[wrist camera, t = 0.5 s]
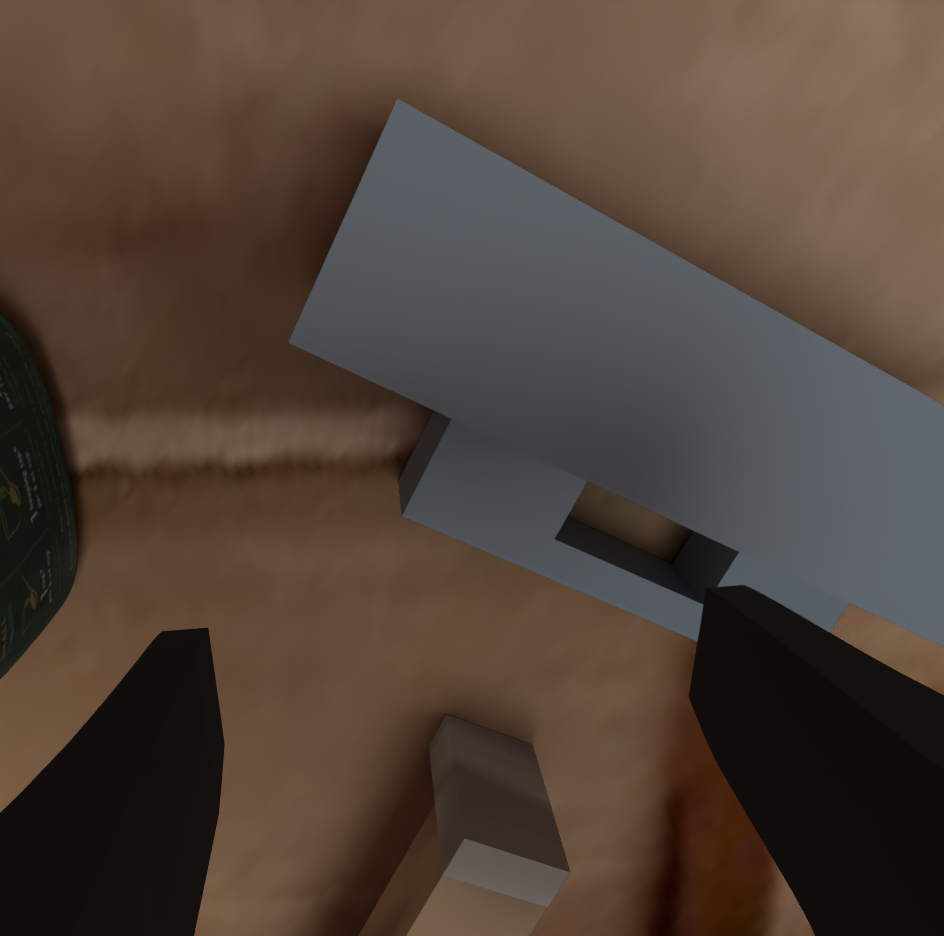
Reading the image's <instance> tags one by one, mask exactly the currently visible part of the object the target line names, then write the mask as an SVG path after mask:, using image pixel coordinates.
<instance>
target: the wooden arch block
mask: <svg viewBox="0 0 944 936" xmlns="http://www.w3.org/2000/svg"><path fill="white" fill-rule="evenodd" d="M429 753H430V762H431V772H432V781H433V790H434V799H435V804H434V806H433V808H432V809H431V811H430V813H429V815H428V816H427V818H426V820H425V821H424V823H423V825H422V827H421V828H420V830H419V832H418V834H417V835H416V837H415V839H414V840H413V842H412V844H411V846H410V847H409V849H408V851H407V852H406V854H405V856H404V858H403V859H402V861H401V863H400V865H399V866H398V868H397V870H396V871H395V873H394V875H393V877H392V878H391V880H390V882H389V883H388V885H387V887H386V889H385V890H384V892H383V894H382V896H381V897H380V899H379V901H378V902H377V904H376V906H375V908H374V909H373V911H372V913H371V914H370V916H369V918H368V920H367V921H366V923H365V925H364V927H363V928H362V930H361V932H360V933H359V935H358V936H529V935H530V934H531V932H532V931H533V929H534V928H535V926H536V925H537V923H538V922H539V920H540V919H541V917H542V915H543V914H544V912H545V911H546V909H547V908H548V906H549V905H550V903H551V902H552V900H553V899H554V897H555V895H556V894H557V892H558V891H559V889H560V888H561V886H562V885H563V883H564V882H565V880H566V878H567V877H568V875H569V874H570V870H569V866H568V863H567V859H566V856H565V853H564V849H563V846H562V842H561V839H560V836H559V832H558V829H557V825H556V822H555V819H554V815H553V812H552V808H551V805H550V802H549V798H548V795H547V791H546V788H545V785H544V781H543V778H542V774H541V771H540V768H539V764H538V761H537V757H536V754H535V751H534V747H533V745H530V744H527V743H525V742H522V741H519V740H516V739H514V738H511V737H508V736H505V735H503V734H500V733H497V732H494V731H491V730H489V729H486V728H483V727H480V726H478V725H475V724H472V723H469V722H467V721H464V720H461V719H458V718H456V717H453V716H450V715H447V714H446V716H445V717H444V719H443V721H442V723H441V724H440V726H439V728H438V730H437V731H436V733H435V735H434V737H433V739H432V740H431V742H430V744H429Z"/></svg>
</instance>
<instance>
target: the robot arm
mask: <svg viewBox="0 0 944 936" xmlns="http://www.w3.org/2000/svg"><path fill="white" fill-rule="evenodd" d="M689 699H690V701H691V704H692V706H693V709H694V711H695V714H696V716H697V719H698V721H699V724H700V726H701V729H702V731H703V733H704V736H705V738H706V740H707V743H708V745H709V747H710V749H711V752H712V754H713V756H714V758H715V760H716V762H717V764H718V765H719V767H720V769H721V771H722V772H723V774H724V776H725V778H726V779H727V781H728V783H729V785H730V786H731V788H732V790H733V791H734V793H735V795H736V797H737V798H738V800H739V802H740V804H741V805H742V807H743V809H744V810H745V812H746V814H747V815H748V817H749V819H750V821H751V822H752V824H753V826H754V827H755V829H756V831H757V832H758V834H759V836H760V837H761V839H762V841H763V842H764V844H765V846H766V848H767V849H768V851H769V853H770V854H771V856H772V858H773V859H774V861H775V863H776V865H777V866H778V868H779V870H780V871H781V873H782V875H783V876H784V878H785V880H786V881H787V883H788V885H789V887H790V888H791V890H792V892H793V893H794V895H795V897H796V899H797V901H798V903H799V905H800V906H801V908H802V910H803V912H804V914H805V916H806V918H807V920H808V921H809V923H810V925H811V927H812V930H813V932H814V934H815V936H944V695H942V694H940V693H938V692H936V691H934V690H932V689H930V688H929V687H927V686H925V685H923V684H921V683H919V682H917V681H915V680H913V679H911V678H909V677H907V676H905V675H903V674H902V673H900V672H898V671H896V670H894V669H892V668H891V667H889V666H887V665H885V664H883V663H882V662H880V661H878V660H876V659H874V658H873V657H871V656H869V655H867V654H866V653H864V652H862V651H860V650H859V649H857V648H855V647H853V646H852V645H850V644H848V643H846V642H845V641H843V640H841V639H840V638H838V637H836V636H834V635H833V634H831V633H829V632H828V631H826V630H824V629H823V628H821V627H819V626H817V625H816V624H814V623H812V622H811V621H809V620H807V619H806V618H804V617H802V616H800V615H799V614H797V613H795V612H794V611H792V610H790V609H789V608H787V607H785V606H783V605H782V604H780V603H778V602H776V601H775V600H773V599H771V598H769V597H767V596H766V595H764V594H762V593H760V592H758V591H756V590H754V589H752V588H750V587H748V586H746V585H736V586H723V587H711V588H706V592H705V598H704V605H703V611H702V617H701V623H700V630H699V636H698V642H697V648H696V655H695V661H694V667H693V673H692V680H691V686H690V692H689ZM224 745H225V743H224V736H223V729H222V722H221V715H220V708H219V701H218V694H217V687H216V679H215V672H214V665H213V658H212V651H211V644H210V637H209V630H208V628H199V629H187V630H174V631H162V632H161V633H160V634H159V635H158V636H157V637H156V638H155V639H154V640H153V641H152V643H151V644H150V645H149V646H148V648H147V649H146V650H145V651H144V653H143V654H142V655H141V656H140V658H139V659H138V660H137V662H136V663H135V664H134V665H133V667H132V668H131V669H130V670H129V672H128V673H127V674H126V675H125V677H124V678H123V679H122V680H121V682H120V683H119V684H118V685H117V687H116V688H115V689H114V690H113V691H112V693H111V694H110V695H109V696H108V698H107V699H106V700H105V701H104V702H103V703H102V705H101V706H100V707H99V708H98V709H97V710H96V712H95V713H94V714H93V715H92V716H91V717H90V719H89V720H88V721H87V722H86V723H85V724H84V725H83V727H82V728H81V729H80V730H79V731H78V732H77V734H76V735H75V736H74V737H73V738H72V739H71V740H70V742H69V743H68V744H67V745H66V746H65V747H64V748H63V749H62V750H61V751H60V752H59V753H58V754H57V755H56V757H55V758H54V759H53V760H52V761H51V762H50V763H49V764H48V765H47V766H46V767H45V768H44V769H43V770H42V771H41V772H40V773H39V774H38V775H37V776H36V778H35V779H34V780H33V781H32V782H31V783H30V784H29V785H28V786H27V787H26V788H25V789H24V790H23V791H22V792H21V793H20V794H19V795H18V796H17V797H16V798H15V799H14V800H13V801H12V802H11V803H10V804H9V805H8V806H7V807H6V808H5V809H4V810H3V811H2V812H1V813H0V936H194V933H195V928H196V923H197V918H198V914H199V909H200V904H201V899H202V894H203V889H204V885H205V880H206V875H207V870H208V865H209V860H210V855H211V850H212V845H213V840H214V835H215V830H216V825H217V820H218V815H219V806H220V795H221V784H222V771H223V758H224Z"/></svg>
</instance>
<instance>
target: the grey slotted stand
mask: <svg viewBox="0 0 944 936" xmlns="http://www.w3.org/2000/svg"><path fill="white" fill-rule="evenodd" d="M288 343H289V344H292V345H294V346H296V347H298V348H300V349H302V350H304V351H307V352H309V353H311V354H313V355H315V356H317V357H320V358H322V359H324V360H326V361H328V362H330V363H333V364H335V365H337V366H339V367H341V368H343V369H345V370H348V371H350V372H352V373H354V374H356V375H358V376H361V377H363V378H365V379H367V380H369V381H371V382H374V383H376V384H378V385H380V386H382V387H384V388H386V389H389V390H391V391H393V392H395V393H397V394H399V395H402V396H404V397H406V398H408V399H410V400H412V401H415V402H417V403H419V404H421V405H423V406H425V407H427V408H430V409H432V410H434V411H433V413H432V415H431V417H430V419H429V421H428V423H427V425H426V427H425V429H424V431H423V433H422V435H421V437H420V439H419V441H418V443H417V445H416V447H415V449H414V451H413V453H412V455H411V457H410V459H409V461H408V463H407V465H406V467H405V469H404V471H403V473H402V475H401V477H400V479H399V481H398V483H399V493H400V503H401V513H402V516H403V517H405V518H407V519H410V520H412V521H414V522H417V523H419V524H421V525H424V526H426V527H429V528H431V529H433V530H436V531H438V532H440V533H443V534H445V535H447V536H450V537H452V538H454V539H457V540H459V541H462V542H464V543H466V544H469V545H471V546H473V547H476V548H478V549H480V550H483V551H485V552H488V553H490V554H492V555H495V556H497V557H499V558H502V559H504V560H506V561H509V562H511V563H514V564H516V565H518V566H521V567H523V568H525V569H528V570H530V571H532V572H535V573H537V574H540V575H542V576H544V577H547V578H549V579H551V580H554V581H556V582H558V583H561V584H563V585H565V586H568V587H570V588H573V589H575V590H577V591H580V592H582V593H584V594H587V595H589V596H591V597H594V598H596V599H599V600H601V601H603V602H606V603H608V604H610V605H613V606H615V607H617V608H620V609H622V610H625V611H627V612H629V613H632V614H634V615H636V616H639V617H641V618H643V619H646V620H648V621H651V622H653V623H655V624H658V625H660V626H662V627H665V628H667V629H669V630H672V631H674V632H677V633H679V634H681V635H684V636H686V637H688V638H691V639H693V640H695V641H698V636H699V630H700V623H701V617H702V611H703V605H704V598H705V592H706V588H711V587H723V586H736V585H746V586H748V587H750V588H752V589H754V590H756V591H758V592H760V593H762V594H764V595H766V596H767V597H769V598H771V599H773V600H775V601H776V602H778V603H780V604H782V605H783V606H785V607H787V608H789V609H790V610H792V611H794V612H795V613H797V614H799V615H800V616H802V617H804V618H806V619H807V620H809V621H811V622H812V623H814V624H816V625H817V626H819V627H821V628H823V629H824V630H826V631H828V632H829V633H830V632H831V631H832V629H833V628H834V626H835V625H836V623H837V622H838V620H839V619H840V617H841V616H842V615H843V613H844V612H845V610H846V609H847V607H848V606H849V604H853V605H855V606H857V607H859V608H861V609H863V610H865V611H868V612H870V613H872V614H874V615H876V616H878V617H881V618H883V619H885V620H887V621H889V622H891V623H894V624H896V625H898V626H900V627H902V628H904V629H906V630H909V631H911V632H913V633H915V634H917V635H919V636H922V637H924V638H926V639H928V640H930V641H932V642H935V643H937V644H939V645H941V646H943V647H944V405H942V404H941V403H939V402H937V401H935V400H934V399H932V398H930V397H928V396H926V395H925V394H923V393H921V392H919V391H918V390H916V389H914V388H912V387H910V386H909V385H907V384H905V383H903V382H901V381H900V380H898V379H896V378H894V377H893V376H891V375H889V374H887V373H885V372H884V371H882V370H880V369H878V368H877V367H875V366H873V365H871V364H869V363H868V362H866V361H864V360H862V359H861V358H859V357H857V356H855V355H853V354H852V353H850V352H848V351H846V350H845V349H843V348H841V347H839V346H837V345H836V344H834V343H832V342H830V341H828V340H827V339H825V338H823V337H821V336H820V335H818V334H816V333H814V332H812V331H811V330H809V329H807V328H805V327H804V326H802V325H800V324H798V323H796V322H795V321H793V320H791V319H789V318H788V317H786V316H784V315H782V314H780V313H779V312H777V311H775V310H773V309H771V308H770V307H768V306H766V305H764V304H763V303H761V302H759V301H757V300H755V299H754V298H752V297H750V296H748V295H747V294H745V293H743V292H741V291H739V290H738V289H736V288H734V287H732V286H731V285H729V284H727V283H725V282H723V281H722V280H720V279H718V278H716V277H714V276H713V275H711V274H709V273H707V272H706V271H704V270H702V269H700V268H698V267H697V266H695V265H693V264H691V263H690V262H688V261H686V260H684V259H682V258H681V257H679V256H677V255H675V254H674V253H672V252H670V251H668V250H666V249H665V248H663V247H661V246H659V245H657V244H656V243H654V242H652V241H650V240H649V239H647V238H645V237H643V236H641V235H640V234H638V233H636V232H634V231H633V230H631V229H629V228H627V227H625V226H624V225H622V224H620V223H618V222H617V221H615V220H613V219H611V218H609V217H608V216H606V215H604V214H602V213H600V212H599V211H597V210H595V209H593V208H592V207H590V206H588V205H586V204H584V203H583V202H581V201H579V200H577V199H576V198H574V197H572V196H570V195H568V194H567V193H565V192H563V191H561V190H560V189H558V188H556V187H554V186H552V185H551V184H549V183H547V182H545V181H543V180H542V179H540V178H538V177H536V176H535V175H533V174H531V173H529V172H527V171H526V170H524V169H522V168H520V167H519V166H517V165H515V164H513V163H511V162H510V161H508V160H506V159H504V158H503V157H501V156H499V155H497V154H495V153H494V152H492V151H490V150H488V149H486V148H485V147H483V146H481V145H479V144H478V143H476V142H474V141H472V140H470V139H469V138H467V137H465V136H463V135H462V134H460V133H458V132H456V131H454V130H453V129H451V128H449V127H447V126H446V125H444V124H442V123H440V122H438V121H437V120H435V119H433V118H431V117H429V116H428V115H426V114H424V113H422V112H421V111H419V110H417V109H415V108H413V107H412V106H410V105H408V104H406V103H405V102H403V101H401V100H399V99H397V101H396V103H395V105H394V107H393V110H392V112H391V114H390V116H389V119H388V121H387V123H386V125H385V128H384V130H383V132H382V134H381V137H380V139H379V141H378V143H377V145H376V148H375V150H374V152H373V154H372V157H371V159H370V161H369V163H368V166H367V168H366V170H365V172H364V175H363V177H362V179H361V181H360V184H359V186H358V188H357V190H356V192H355V195H354V197H353V199H352V201H351V204H350V206H349V208H348V210H347V213H346V215H345V217H344V219H343V222H342V224H341V226H340V228H339V230H338V233H337V235H336V237H335V239H334V242H333V244H332V246H331V248H330V251H329V253H328V255H327V257H326V260H325V262H324V264H323V266H322V268H321V271H320V273H319V275H318V277H317V280H316V282H315V284H314V286H313V289H312V291H311V293H310V295H309V298H308V300H307V302H306V304H305V307H304V309H303V311H302V313H301V315H300V318H299V320H298V322H297V324H296V327H295V329H294V331H293V333H292V336H291V338H290V340H289V342H288ZM587 482H589V483H591V484H594V485H596V486H598V487H600V488H602V489H604V490H607V491H609V492H611V493H613V494H615V495H617V496H619V497H622V498H624V499H626V500H628V501H630V502H632V503H635V504H637V505H639V506H641V507H643V508H645V509H648V510H650V511H652V512H654V513H656V514H658V515H660V516H663V517H665V518H667V519H669V520H671V521H673V522H676V523H678V524H680V525H682V526H684V527H686V528H689V529H691V530H693V531H692V533H691V534H690V536H689V538H688V539H687V541H686V543H685V544H684V546H683V547H682V549H681V551H680V552H679V554H678V556H677V557H676V559H675V560H674V562H673V564H671V563H669V562H666V561H664V560H662V559H660V558H657V557H655V556H653V555H651V554H649V553H646V552H644V551H642V550H640V549H637V548H635V547H633V546H631V545H628V544H626V543H624V542H622V541H620V540H617V539H615V538H613V537H611V536H608V535H606V534H604V533H602V532H599V531H597V530H595V529H593V528H590V527H588V526H586V525H584V524H582V523H579V522H577V521H575V520H573V519H570V518H568V517H567V516H568V514H569V513H570V511H571V509H572V507H573V506H574V504H575V502H576V500H577V499H578V497H579V495H580V493H581V492H582V490H583V488H584V486H585V485H586V483H587Z"/></svg>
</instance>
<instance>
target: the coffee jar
mask: <svg viewBox="0 0 944 936" xmlns="http://www.w3.org/2000/svg"><path fill="white" fill-rule="evenodd" d="M77 559H78V550H77V528H76V522H75V507H74V501H73V494H72V487H71V480H70V476H69V473H68V468H67V462H66V458H65V453H64V448H63V444H62V440H61V436H60V432H59V428H58V424H57V421H56V417H55V413H54V410H53V407H52V404H51V401H50V398H49V396H48V393H47V389H46V386H45V384H44V382H43V378H42V375H41V373H40V371H39V368H38V366H37V363H36V361H35V358H34V356H33V354H32V352H31V350H30V348H29V346H28V344H27V343H26V341H25V340H24V338H23V337H22V335H21V334H20V332H19V331H18V330H17V328H16V327H15V326H14V325H13V324H12V323H11V322H10V321H9V320H8V319H7V318H6V317H5V316H4V315H3V314H2V313H1V312H0V679H1V678H2V677H3V676H4V675H5V674H6V673H7V672H8V671H9V669H10V668H11V667H12V666H13V665H14V664H15V663H16V662H17V661H18V660H19V658H20V657H21V656H22V655H23V654H24V653H25V651H26V650H27V649H28V648H29V646H30V645H31V644H32V643H33V642H34V641H35V639H36V638H37V637H38V636H39V635H40V634H41V632H42V631H43V630H44V628H45V627H46V626H47V625H48V623H49V622H50V621H51V620H52V618H53V617H54V616H55V614H56V613H57V612H58V611H59V609H60V608H61V607H62V605H63V604H64V602H65V600H66V599H67V597H68V595H69V593H70V591H71V589H72V586H73V583H74V579H75V576H76V571H77Z"/></svg>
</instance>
